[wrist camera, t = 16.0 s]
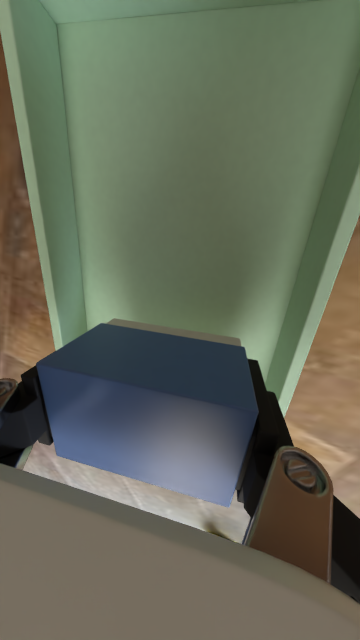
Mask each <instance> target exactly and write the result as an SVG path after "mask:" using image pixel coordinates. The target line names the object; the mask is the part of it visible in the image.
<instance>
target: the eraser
mask: <svg viewBox="0 0 360 640" xmlns="http://www.w3.org/2000/svg"><path fill="white" fill-rule="evenodd" d="M36 366H37V371H38V375H39V380H40V384H41V388H42V393H43V397H44V401H45V406H46V410H47V415H48V419H49V423H50V428H51V432H52V437H53V441H54V445H55V450H56V454H57V456H60V457H63V458H66V459H70V460H73V461H76V462H80V463H83V464H86V465H89V466H93V467H96V468H99V469H103V470H106V471H109V472H113V473H116V474H119V475H122V476H126V477H129V478H132V479H136V480H139V481H142V482H146V483H149V484H152V485H155V486H159V487H162V488H165V489H169V490H172V491H175V492H178V493H182V494H185V495H188V496H192V497H195V498H198V499H202V500H205V501H208V502H211V503H215V504H218V505H221V506H225V507H230V504H231V501H232V498H233V494H234V491H235V488H236V485H237V481H238V478H239V475H240V471H241V468H242V465H243V462H244V458H245V455H246V452H247V449H248V445H249V442H250V439H251V436H252V432H253V429H254V426H255V422H256V419H257V416H258V413H259V411H258V406H257V402H256V397H255V392H254V388H253V383H252V378H251V373H250V369H249V364H248V359H247V355H246V350H245V347H242V346H241V340H240V339H239V338H234V337H228V336H221V335H215V334H209V333H203V332H197V331H190V330H184V329H178V328H172V327H166V326H159V325H153V324H147V323H141V322H135V321H128V320H122V319H116V318H113V319H112V320H110V321H109V322H107V323H106V324H105V323H100V324H98V325H97V326H95V327H94V328H92V329H90V330H89V331H87V332H85V333H84V334H82V335H81V336H79V337H77V338H76V339H74V340H73V341H71V342H69V343H68V344H66V345H64V346H63V347H61V348H60V349H58V350H56V351H55V352H53V353H51V354H50V355H48V356H47V357H45V358H43V359H42V360H40V361H39V362H37V363H36Z"/></svg>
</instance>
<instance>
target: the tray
mask: <svg viewBox="0 0 360 640" xmlns="http://www.w3.org/2000/svg"><path fill="white" fill-rule="evenodd" d="M0 31H1V37H2V43H3V49H4V55H5V60H6V66H7V72H8V78H9V84H10V89H11V95H12V101H13V107H14V113H15V118H16V124H17V130H18V136H19V142H20V147H21V153H22V159H23V165H24V171H25V176H26V182H27V188H28V194H29V200H30V206H31V211H32V217H33V223H34V229H35V235H36V240H37V246H38V252H39V258H40V264H41V269H42V275H43V281H44V287H45V293H46V298H47V304H48V310H49V316H50V322H51V327H52V333H53V339H54V345H55V351H56V350H58V349H60V348H61V347H63V346H64V345H66V344H68V343H69V342H71V341H73V340H74V339H76V338H77V337H79V336H81V335H82V334H84V333H85V332H87V331H89V330H90V329H92V328H94V327H95V326H97V325H98V324H100V323H105V324H106V323H107V322H109V321H110V320H112V319H113V318H116V319H122V320H128V321H135V322H141V323H147V324H153V325H159V326H166V327H172V328H178V329H184V330H190V331H197V332H203V333H209V334H215V335H221V336H228V337H234V338H239V339H240V340H241V346H242V347H245V350H246V355H247V358H248V359H253V360H258V363H259V366H260V369H261V373H262V376H263V380H264V383H265V386H266V390H267V391H271V392H274V393H275V395H276V397H277V400H278V403H279V406H280V408H281V411H282V414H283V417H285V414H286V411H287V409H288V406H289V403H290V401H291V398H292V395H293V393H294V390H295V387H296V385H297V382H298V379H299V376H300V374H301V371H302V368H303V366H304V363H305V360H306V358H307V355H308V352H309V349H310V347H311V344H312V341H313V339H314V336H315V333H316V331H317V328H318V325H319V323H320V320H321V317H322V314H323V312H324V309H325V306H326V304H327V301H328V298H329V296H330V293H331V290H332V287H333V285H334V282H335V279H336V277H337V274H338V271H339V269H340V266H341V263H342V261H343V258H344V255H345V252H346V250H347V247H348V244H349V242H350V239H351V236H352V234H353V231H354V228H355V225H356V223H357V220H358V217H359V215H360V0H0Z"/></svg>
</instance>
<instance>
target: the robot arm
mask: <svg viewBox="0 0 360 640" xmlns="http://www.w3.org/2000/svg"><path fill="white" fill-rule="evenodd" d="M247 359H248V358H247ZM248 364H249V369H250V373H251V378H252V383H253V388H254V392H255V397H256V402H257V406H258V411H259V413H258V416H257V419H256V422H255V426H254V429H253V432H252V436H251V439H250V442H249V445H248V449H247V452H246V455H245V458H244V462H243V465H242V468H241V471H240V475H239V478H238V481H237V485H236V488H235V489H236V490H237V500H238V502H242V503H244V509H245V510H246V511H247V513H248V514H249V515H250V520H249V523H248V526H247V529H246V532H245V535H244V538H243V541H242V544H239V543H236V542H233V541H230V540H227V539H225V538H222V537H219V536H216V535H214V534H211V533H208V532H205V531H202V530H200V529H197V528H194V527H191V526H188V525H185V524H182V523H179V522H176V521H173V520H170V519H167V518H164V517H161V516H158V515H155V514H152V513H149V512H146V511H143V510H140V509H137V508H134V507H131V506H128V505H125V504H122V503H119V502H116V501H114V500H111V499H107V498H104V497H101V496H98V495H95V494H92V493H89V492H86V491H83V490H80V489H77V488H74V487H71V486H68V485H65V484H62V483H59V482H56V481H53V480H50V479H47V478H44V477H41V476H38V475H35V474H32V473H29V472H26V471H22V470H23V468H24V465H25V463H26V461H27V459H28V456H29V454H30V452H31V450H32V448H33V444H34V443H35V442H36V441H37V440H38V441H39V443H43V444H46V445H49V446H50V445H51V444H52V443H53V437H52V432H51V428H50V423H49V419H48V415H47V410H46V406H45V401H44V397H43V393H42V388H41V384H40V380H39V375H38V371H37V366H34V367H33V368H31V369H29V370H28V371H26V372H25V373H23V374H22V375H21V378H22V382H20V383H19V384H18V383H17V381H16V380H14V379H10V378H3V379H0V640H360V519H359V518H358V517H357V516H356V515H355V514H354V513H353V512H352V511H350V510H349V509H348V508H347V507H346V506H345V505H344V504H343V503H342V502H341V501H339V500H338V499H337V498H336V497H335V496H334V495H333V485H332V481H331V479H330V477H329V474H328V473H327V471H326V470H325V469H324V467H323V466H322V464H321V463H319V462H318V461H317V460H316V459H315V458H314V457H313V456H312V455H310V454H309V453H307V452H306V451H304V450H302V449H300V448H297V447H294V445H293V443H292V440H291V437H290V434H289V431H288V428H287V426H286V423H285V420H284V417H283V414H282V411H281V408H280V406H279V403H278V400H277V397H276V395H275V393H274V392H271V391H267V390H266V386H265V383H264V380H263V376H262V373H261V369H260V366H259V363H258V360H253V359H248Z"/></svg>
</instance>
